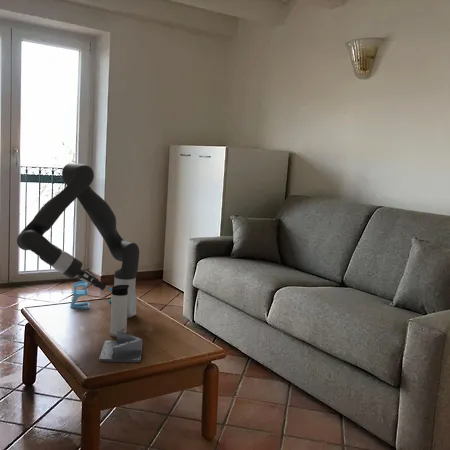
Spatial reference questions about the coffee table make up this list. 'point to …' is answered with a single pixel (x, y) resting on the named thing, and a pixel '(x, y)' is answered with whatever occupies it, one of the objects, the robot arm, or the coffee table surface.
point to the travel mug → (119, 309)
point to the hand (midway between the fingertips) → (101, 286)
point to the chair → (79, 293)
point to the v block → (122, 349)
